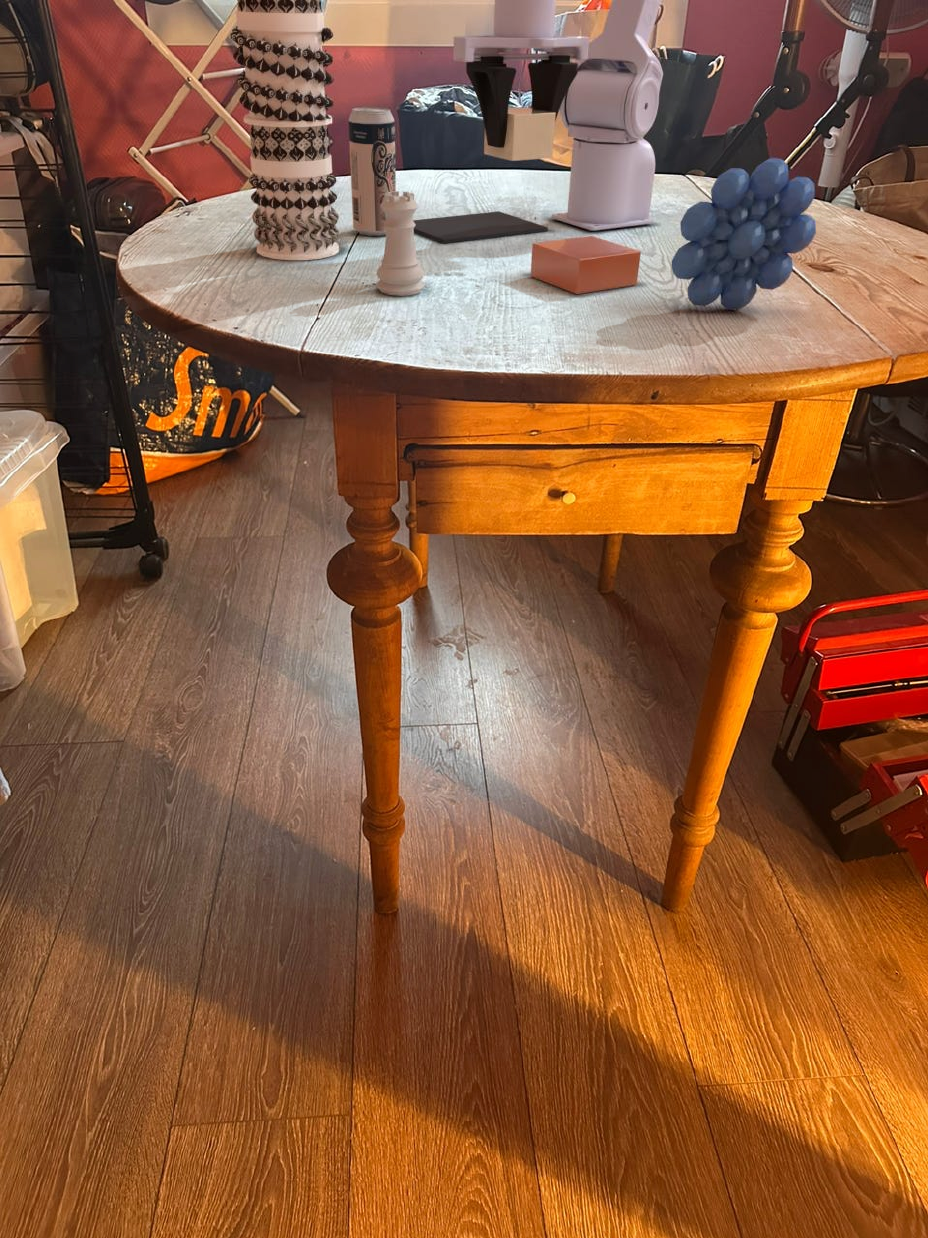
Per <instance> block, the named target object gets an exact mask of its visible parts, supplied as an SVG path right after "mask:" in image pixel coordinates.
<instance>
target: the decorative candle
mask: <svg viewBox="0 0 928 1238" xmlns="http://www.w3.org/2000/svg"><path fill="white" fill-rule="evenodd" d="M236 1H237V10H236V11H235V15H236V16H235V17H236V26H235V27H234V28H232V30H231V32H230V35H229V36H230V39H231V40H232V41H233V42H234V43H236V44H237V45H238V47H237V48H236V49H235V50H234V52H233V53H232V58H233V59H234V60H235V61H236V63H237V64H239V65H240V66H242V67H244V68H243V70H242V72H241V73H239V74H238V76H237V79H236V83H237V85H238V86H239V87H240V88H241V89H242V90H244V91H243V92H242V94H241V96H240V97H239V99H238V100H239V103H240V104H241V106H242V107H243V108H244V109H245V110H247V111H248V113H247V114H244V116H243V123H244V124H246V125H248V128H249V131H250V134H249V139H250V147H251V154H250V158H249V159H250V169H251V174H252V175H251V176H250V177H249V178H248V182H249V184H250V185H251V186H252V187H254V188H255V191H254V192H253V193H252V194H251V195H250V199H251V201H252V202H253V203H254V204H256V205H257V207H256V209H255V210H254V212H253V213H252V215H251V217H252V218H251V219H252V221H253V223H254V224H255V225H256V226H257V227H256V228H255V229H254V231H253V236H254V238H255V240H256V241H257V242H259V243H257V245H256V253H257V254H258V255H260V256H261V257H265V258H269V259H272V260H281V261H309V260H319V259H320V260H321V259H326V258H329V257H333V256H335V255H336V254H338V253H340V247H339V246H340V245H339V243H337V240H338V239H339V236H340V230H339V229H338V228H337V226H336V225H337V224H338V221H339V218H340V216H339V214H338V212H337V211H336V209H335V208H334V207H333V206H332V204H334V203H336V202H337V199H338V195H337V194H336V192H334V191H333V190H332V189H331V188H332V187H334V186H335V184H336V183H337V177H336V176H335V175H333V174H332V173H333V162H332V161H333V160H332V154H331V153H330V140H329V138H330V137H329V125H331V124H333V116H332V115H330V114H328V113H327V112H328V111H329V110H330V109H332V108H333V107H334V101H333V99H332V98H330V97H329V96H328V95H327V94H326V92H325V89H326V87H327V88H328V87H329V85H331V84H333V83H334V76H332V74H330V72H328V71H327V69H328V67H329V66H331V65H332V64H333V63H334V62H333V61H334V58H333V57H334V56H333V55H332V54H330V53H329V52H328V51H327V49H325V50H324V51H323V47H324V45H325V42H328V41H329V40H331V39H332V38H334V32H333V31H332V29H331V28H330V27H325V16H324V14H325V13H324V12H322V11H323V10H322V0H236ZM324 68H325V70H324Z"/></svg>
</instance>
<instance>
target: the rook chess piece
mask: <svg viewBox="0 0 928 1238" xmlns="http://www.w3.org/2000/svg"><path fill="white" fill-rule="evenodd" d="M380 207H381V208H382V210H383V211H384V213H385V214H386V222H385V223H384V224H383V225H384V226H385V228H386V235H385V241H384V242H385V243H384V253H383V256H382V259H381V260H380V266H379V267H378V268H377V270H376V273H375V274H376V277H378V279H379V280H378V281H376V283H375V286H376V287H377V288H378V289H377V290H379V291H380V293H382V294H384V295H388V296H393V297H394V296H395V297H405V296H406V297H407V296H413V295H417V294H420V293H421V292H422V291H423V289H424V288H425V286H426V283H424V281H423V280H422V279H423V278H424V276H425V271H424V269H423V267H421V265H420V260H419V259H418V256H417V251H416V246H415V237H414V236H415V235H414V234H415V232H414V227H415V225H416V224H415V223H414V222H413V220H414V214H415V213H416V211H417V209H418V208H419V205H418V203H417V202H416V201H415V193H413V192H409V191H402V195H400V191H399V190H396V191H393V196H392V195H391V192H386V193H385V194H384V201H383V202H382V204H381V205H380Z"/></svg>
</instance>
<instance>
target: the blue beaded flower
mask: <svg viewBox="0 0 928 1238" xmlns="http://www.w3.org/2000/svg"><path fill="white" fill-rule="evenodd" d="M788 180H789V165H788V163H787V162H786V161H784V160H783V159H782V158H777V157H770V158H768V159H766V160H765V161H763V162H761V163H760V164H758V165H757V166H756V167H755V169H754V171H752V174H751V176H750V175H749V173H748V172H747V171H746V170H744V169H742V168H740V167H739V168H737V167H731V168H729V169H728V170H726V171H725V172H723V173H721V174H719V175H718V176H717V178H716V180H715V181H714V183H713V185H712V187H711V190H710V195H711V202H710V201H699V202H696V203H695V204H693V205H692V206H690V207H689V208H687V210H686V211H685V213H684V215H683V217H682V219H681V220H680V222H679V223H680V224H679V225H680V234H681V236H682V237H683V239H684V240H685V241H689V242H686V243H685V244H682V246H680V247H679V248H677V250H676V252H675V254H674V256H673V258H672V259H671V271H672V275H674V276H675V277H676V278H677V279H680V280H686V281H687V280H688V281H690V282H689V284H688V286H687V298H688V301H689V302H690V303H691V304H692V306H699V307H701V306H702V307H707V306H708V305H711V304H712V303H714V302H715V301H716V300H718V298H719V297H720V304H721V305H722V307H724V309H726V310H734V311H738V310H741V309H744V308H745V307H746V306H747V305H749V304H750V303H751V302H752V301H753V299H754V297H755V295H756V293H757V291H758V290H757V289H758V288H757V286H758V287H759V288H760V289H762V290H770V291H773V290H776V289H777V288H779V287H781V286H783V285H784V284H785V283H786V282H787V281H788V279H789V278H790V277H791V274H792V273H793V266H794V265H793V258H792V256H790V254H793V255H795V254H798V253H800V252H801V251H803V250H805V249H806V248H807V247H808V246H809V245H810V244H811V243H812V242H813V240H814V238H815V235H816V234H817V233H816V232H817V226H816V220H815V219H814V218H813V216H811V215H810V214H804V213H805V212H806V211H807V210H808V209H809V207H810V206H811V205H812V203H813V201H814V199H815V193H816V190H815V183H814V181H812V180H811V179H810V178H809V177H807V176H796V177H794V178H792V179H790V180H789V181H788Z"/></svg>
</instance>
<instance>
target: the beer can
mask: <svg viewBox="0 0 928 1238" xmlns="http://www.w3.org/2000/svg"><path fill="white" fill-rule="evenodd" d="M395 124H396V123H395V118H394V116H393V114H392V112H391V109H389V108H386V107H385V108H384V107H354V108H352V109H351V112H350V114H349V117H348V139H349V140H348V143H349V144H348V145H349V162H350V163H349V164H350V165H349V167H350V186H351V209H352V228H353V230H355V231H357V233H359V234H360V235H363V236H372V237H373V236H374V237H376V236H377V237H379V236H386V228H385V226H384V225H383V224H384V223H385V222H386V214H385V213H384V211H383V210H382V208H381V207H380V205H381V204H382V202H383V201H384V194H385V193H386V192H391V195H392V196H393V191H397V179H396V177H397V176H396V174H397V173H396V125H395Z"/></svg>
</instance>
